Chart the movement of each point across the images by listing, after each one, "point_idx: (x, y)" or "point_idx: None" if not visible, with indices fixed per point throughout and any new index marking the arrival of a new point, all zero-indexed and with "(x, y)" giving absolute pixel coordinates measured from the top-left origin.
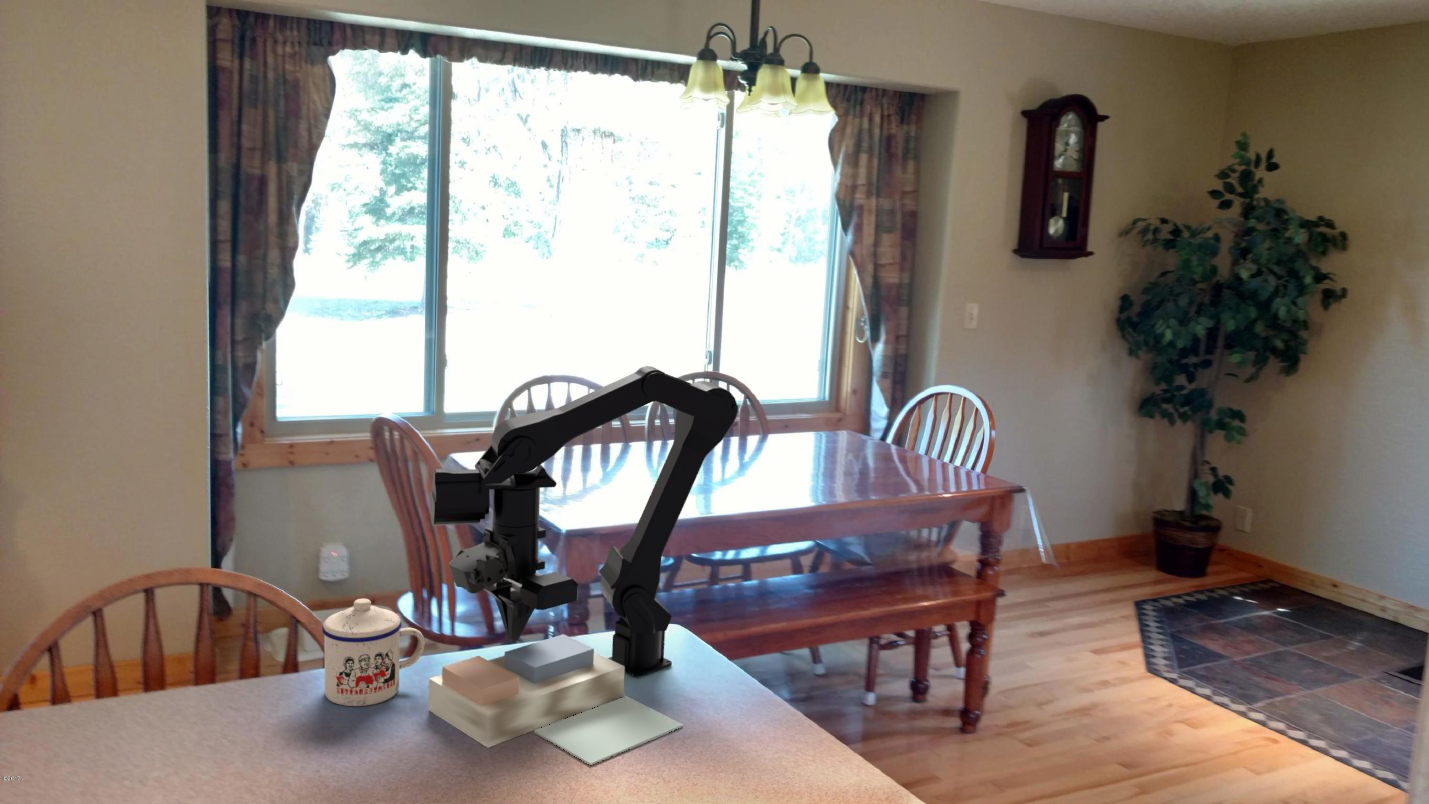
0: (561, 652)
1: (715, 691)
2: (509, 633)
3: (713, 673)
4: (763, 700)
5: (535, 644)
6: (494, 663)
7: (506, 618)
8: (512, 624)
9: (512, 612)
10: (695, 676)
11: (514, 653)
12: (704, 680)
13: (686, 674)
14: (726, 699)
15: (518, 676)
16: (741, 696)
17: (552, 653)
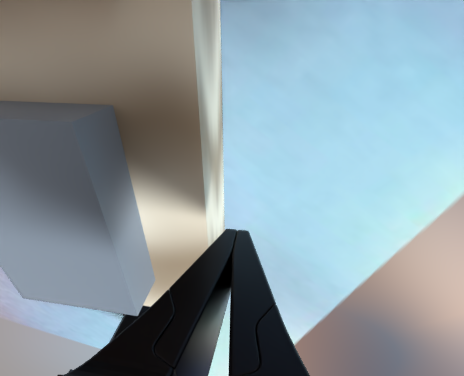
0: (14, 245)
1: (49, 309)
2: (228, 244)
3: (96, 336)
4: (13, 317)
5: (98, 238)
6: (162, 101)
7: (231, 293)
8: (184, 273)
9: (132, 329)
10: (97, 323)
11: (44, 142)
12: (82, 321)
13: (106, 323)
14: (25, 302)
15: (26, 95)
16: (28, 313)
17: (14, 226)
